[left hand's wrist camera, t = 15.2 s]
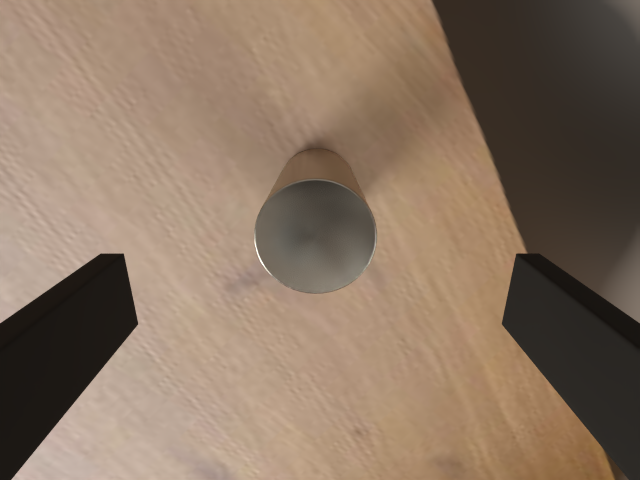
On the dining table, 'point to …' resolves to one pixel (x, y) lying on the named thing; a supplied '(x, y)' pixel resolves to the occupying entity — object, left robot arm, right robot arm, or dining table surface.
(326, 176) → the tin
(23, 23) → the dining table surface
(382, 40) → the dining table surface
